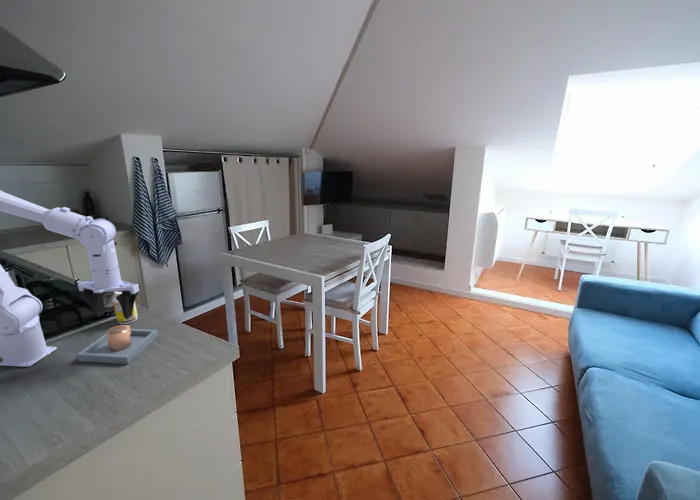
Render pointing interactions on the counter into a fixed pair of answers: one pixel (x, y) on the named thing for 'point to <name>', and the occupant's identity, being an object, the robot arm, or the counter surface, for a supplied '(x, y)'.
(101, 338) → the tray
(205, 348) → the counter surface
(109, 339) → the terracotta cup
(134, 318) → the supplement bottle
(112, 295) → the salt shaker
